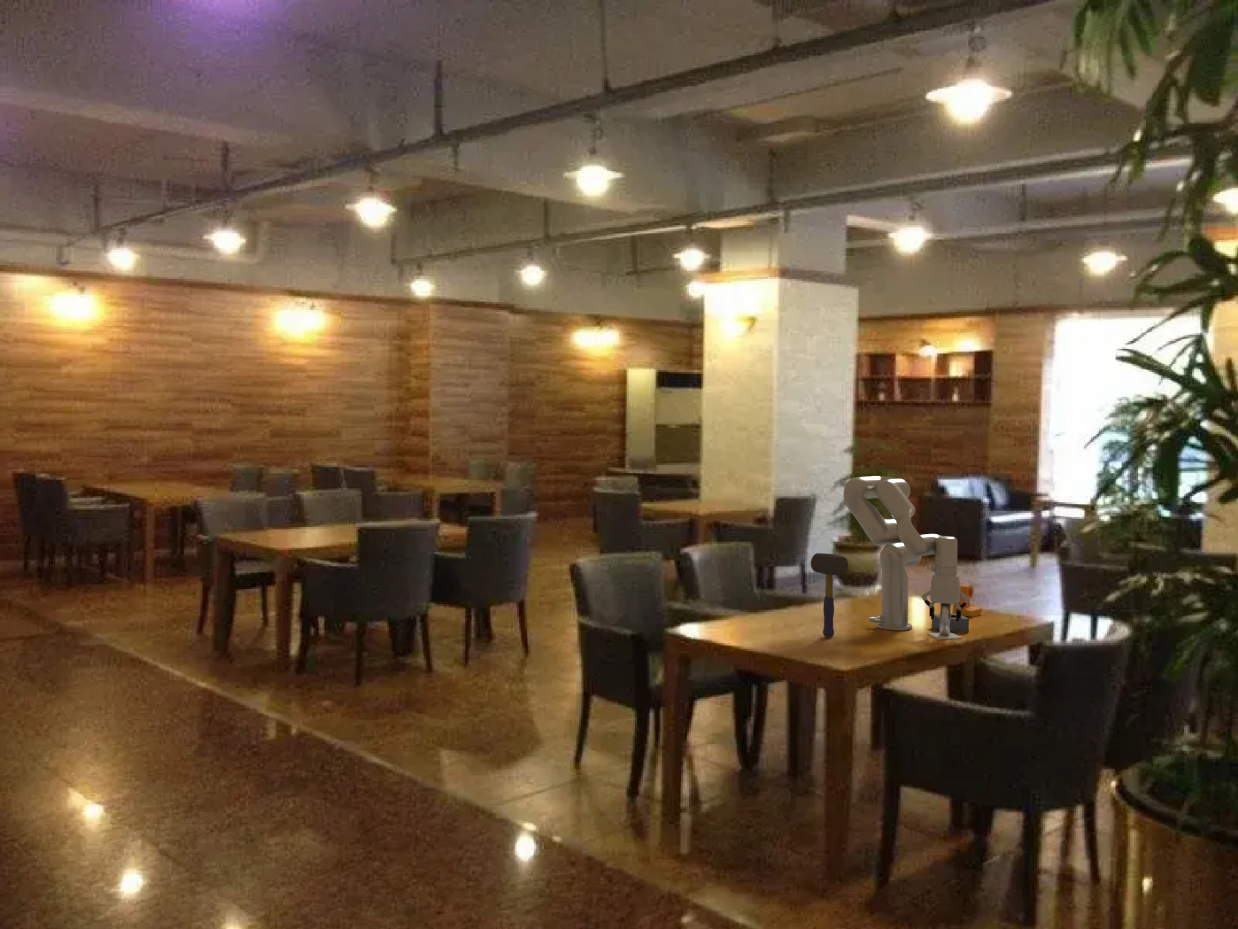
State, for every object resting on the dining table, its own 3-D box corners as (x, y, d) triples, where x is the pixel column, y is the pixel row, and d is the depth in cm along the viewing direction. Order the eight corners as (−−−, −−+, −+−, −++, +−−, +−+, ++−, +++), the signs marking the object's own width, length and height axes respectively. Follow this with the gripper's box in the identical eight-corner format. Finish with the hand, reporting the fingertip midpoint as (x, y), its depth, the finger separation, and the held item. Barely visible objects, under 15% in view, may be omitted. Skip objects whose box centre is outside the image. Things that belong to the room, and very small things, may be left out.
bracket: (969, 618, 449) (970, 587, 449) (952, 616, 454) (953, 585, 454) (982, 614, 457) (982, 584, 456) (965, 612, 462) (965, 582, 461)
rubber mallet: (849, 638, 408) (850, 554, 407) (835, 641, 404) (836, 556, 402) (821, 633, 418) (822, 551, 416) (808, 636, 413) (808, 552, 411)
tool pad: (937, 639, 408) (937, 638, 408) (927, 634, 417) (927, 633, 417) (962, 639, 409) (962, 637, 409) (951, 634, 418) (951, 632, 418)
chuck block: (942, 632, 420) (942, 619, 420) (931, 627, 430) (931, 614, 430) (968, 632, 421) (968, 618, 421) (957, 627, 431) (957, 613, 431)
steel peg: (950, 637, 410) (951, 599, 409) (936, 635, 412) (938, 598, 411) (952, 634, 414) (953, 597, 413) (938, 633, 416) (939, 596, 415)
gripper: (919, 571, 411) (918, 619, 412) (970, 574, 405) (969, 623, 406) (922, 568, 418) (921, 616, 419) (972, 571, 412) (971, 619, 412)
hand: (945, 619), depth 412 cm, fingers open, 8 cm apart
